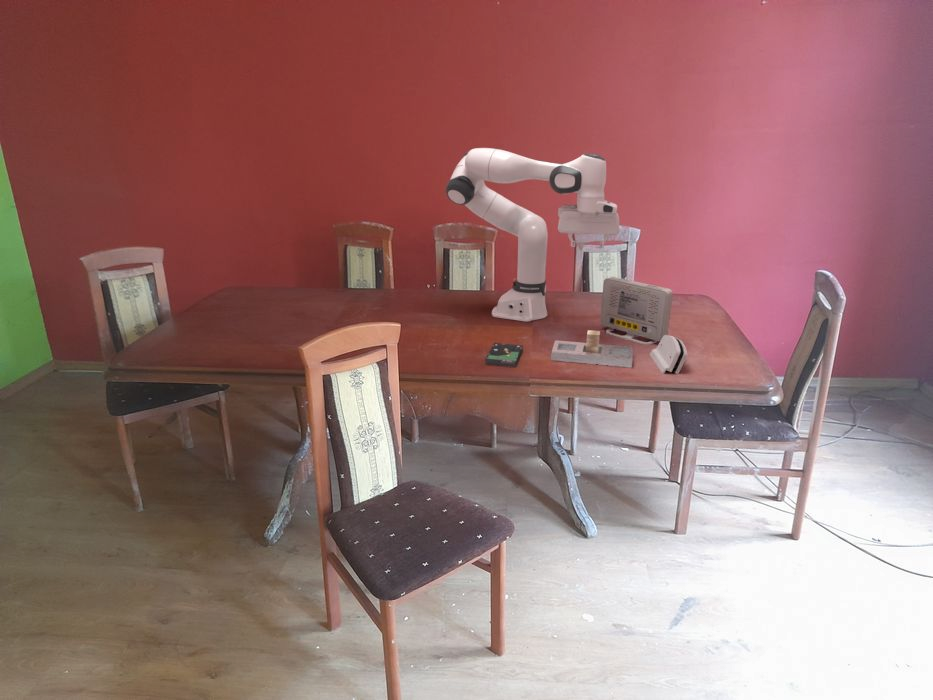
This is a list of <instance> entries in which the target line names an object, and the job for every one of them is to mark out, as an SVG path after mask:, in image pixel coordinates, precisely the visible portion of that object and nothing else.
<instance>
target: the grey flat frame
mask: <svg viewBox="0 0 933 700" xmlns="http://www.w3.org/2000/svg"><path fill="white" fill-rule="evenodd" d="M633 353H634V351H633V346H629V345H628V346H626V345H613V344H604V343H603V344H602V343H599V349H598V353H590V352H586V342H581V341H580V342H579V341H578V342H577V341H570V340H569V341H568V340H567V341H566V340H558V339H556V340H554V343H553V346H552V350H551V355H550V357H551V358H550V361H556V362H566V363H575V364H576V363H578V364H585V363H586V364H589V365H596V364H598V365H600V366H607V365H608V366H609V367H617V368H618V367H620V368H629V369H630V368H631V369H632V368H633V361H634V355H633Z"/></svg>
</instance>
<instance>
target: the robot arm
mask: <svg viewBox="0 0 933 700" xmlns="http://www.w3.org/2000/svg"><path fill="white" fill-rule="evenodd" d="M526 180H538V181H546V182H549V185H550V187H551V189H552V191H553V192H555V193H557V194H560V195H568V194H573V193H576V194H577V195H576V204H563V205H561V206H559V207H558V210H557V216H558V218H559V219H558V223H557V224H558V225H557V231H558V232H559V233H560V234H567V237H568V239H569V241H570V247H572V248H575V247H576V242H577V241H576V240H574V238H573V234H578V235H579V234H580V235H600V236H601V235H603V240H602V241H599V242H598V243H599V245H598V248H599V249H604V247H605V243H606V241H607V239H608V238H609V236H617V235H618V234H619V233H620V215H619V213H618V212H617V211H618V205H617V204H616V203H614V202H611V201H608V200H605V185H606V182H607V161H606V159H605V158H604V157H603V156H601V155H600V154H595V153H590V152H589V153H583V154H582V155H581V156H579V157H577V158H576V159H573V160H571V161H568V162H566V163H565V162H564V163H556V162H549V161H543V160H536V159H532V158H529V157H525V156H523V155H520V154H517V153H514V152H511V151H507V150H503V149H497V148H492V147H491V148H489V147H478V148H477V147H475V148H472V149H469V150H468V151H467V152H465V154H463V156H462V158H461V159H460V161H459V162H458V163H457V164H456V166H455V168H454V170H453V173H452V174H451V177H450V179H449V180H448V181H447V184H446V187H445V194H446V196H447V197H448V199H449V200H450V201H451V202H452V203H454V204H456V205H461V206H465V207H466V208H468V210H470V211H471V212H472V213H473V214H475V216H477V217H479V218H481V219H483V220H484V221H485V222H487V223H489V224H491V225H493V226H494V227H496V228H497V229H499V230H501V231H505V232H507V233H509V234H511V235H513V236H515V237H517V238H518V239H517V241H518V242H517V244H518V245H517V272H516V273H517V275H516V277H514V278H513V279H512V281H511V289H509V290H508V291H507V292H505V293H503V294H502V295H501V296H500V298H499V299H498V301H497V305H496V306H494V307H493V309H491V316H492V317H494V318H500V319H507V320H514V321H521V322H527V323H528V322H531V321H535V320H541V319H544V318H546V317H548V311H547V310H548V309H547V306H546V293H547V281H546V266H547V255H548V254H547V252H548V236H549V233H548V227H547V223H546V221H545V220H544V218H543V217H542V216H540V215H538V214H536V213H534V212H532V211H530V210H528V209H526V207H523V206H520V205H518V204H517V203H514V202H513V201H511V200H510V199H508V198H506V197H504V196H503V195H502V194H499V193H497V192H496V191H495V190H493V189H491V188H489V187H488V186H487V185H486V183H485V181H486V182H492V183H496V184H513V183H518V182H522V181H526Z"/></svg>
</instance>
